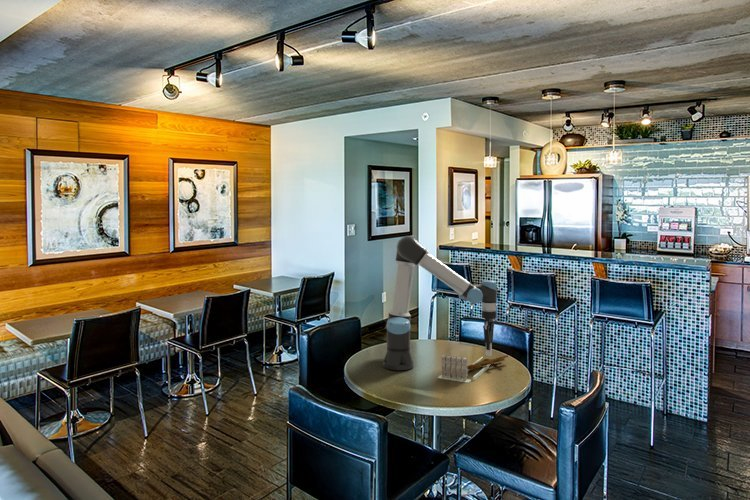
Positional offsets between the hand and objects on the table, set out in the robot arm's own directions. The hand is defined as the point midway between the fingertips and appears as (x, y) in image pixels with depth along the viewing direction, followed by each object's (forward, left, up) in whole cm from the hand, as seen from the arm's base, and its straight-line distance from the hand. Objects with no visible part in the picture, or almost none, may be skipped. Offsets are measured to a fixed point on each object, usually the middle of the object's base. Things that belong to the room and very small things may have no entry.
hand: (488, 355), depth 259 cm
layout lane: (0, -18, -3) cm, 18 cm away
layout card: (-5, -39, -3) cm, 39 cm away
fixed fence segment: (-5, -38, -3) cm, 39 cm away
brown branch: (-1, -12, -2) cm, 12 cm away
